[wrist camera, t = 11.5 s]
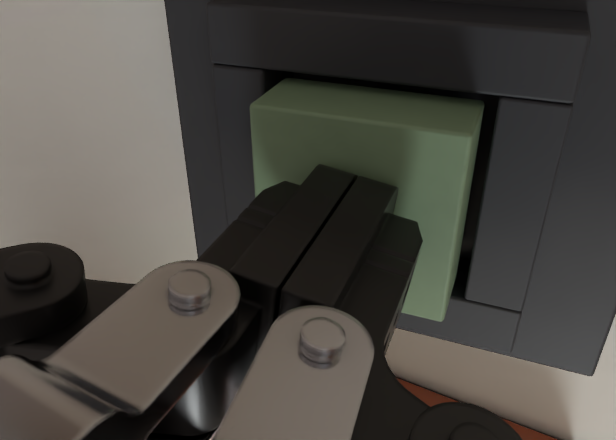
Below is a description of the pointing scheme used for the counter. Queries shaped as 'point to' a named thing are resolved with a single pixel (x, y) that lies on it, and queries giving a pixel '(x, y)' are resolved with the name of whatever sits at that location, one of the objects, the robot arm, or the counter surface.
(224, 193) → the dark square push button
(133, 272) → the counter surface
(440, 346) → the counter surface
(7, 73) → the counter surface
